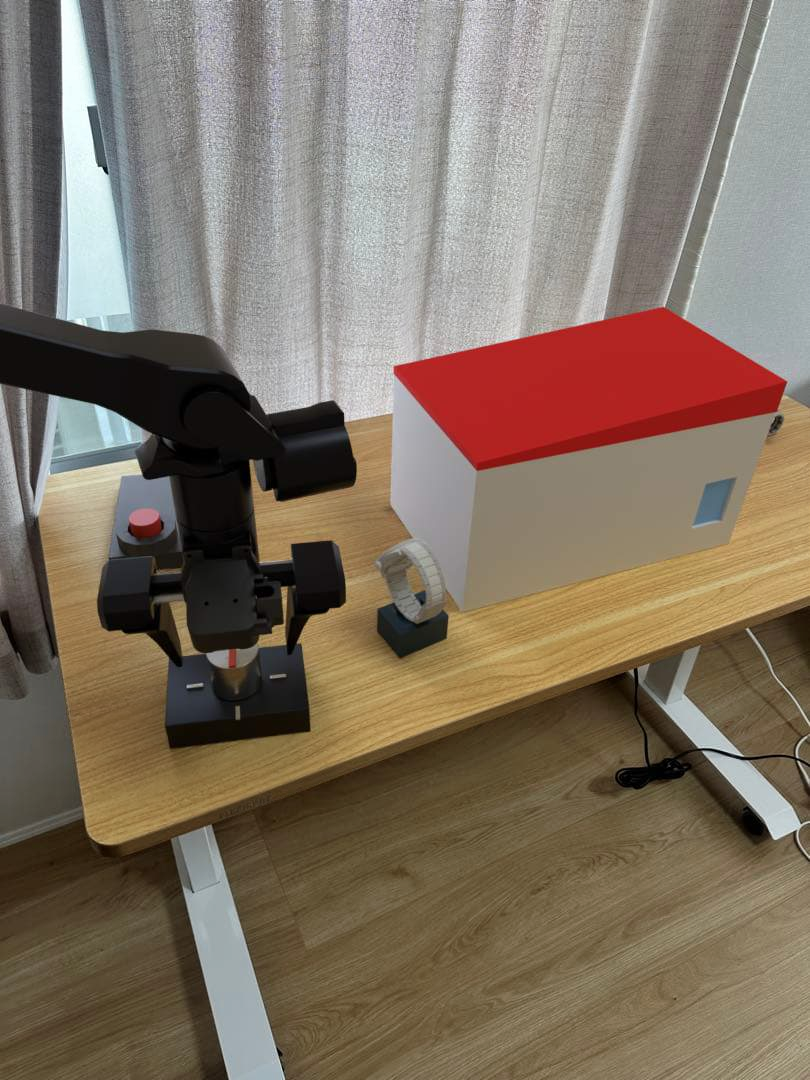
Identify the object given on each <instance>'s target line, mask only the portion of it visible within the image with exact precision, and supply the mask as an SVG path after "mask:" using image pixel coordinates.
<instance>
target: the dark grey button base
mask: <svg viewBox="0 0 810 1080" xmlns="http://www.w3.org/2000/svg"><path fill="white" fill-rule="evenodd" d="M140 509H154V510H156V511H157V512H158V513H159V515H160V520H161V526H162V530H161V532H160V533H159V534H157V535H154V536H152V537H147V538H138V537H134V536H133V535H132V533H131V529H130V525H129V520H128V519H129V516H130V515H131V514H132V513H133V512H135V511H137V510H140ZM108 550H109V551H108V557H107V558H108V560H115V559H126V558H137V557H148V556H153V557H154V558H155V561H156V566H157V570H168V569H169V570H170V569H178V568H182V566H183V562H184V561H183V555H182V549H181V544H180V538H179V532H178V527H177V521H176V515H175V509H174V503H173V497H172V491H171V486H170V480H169V476H168V477H163V478H158V479H153V480H146V479H144V478H143V475H142V474H131V475H121V477H120V483H119V488H118V495H117V501H116V508H115V514H114V519H113V527H112V532H111V539H110V545H109V549H108Z"/></svg>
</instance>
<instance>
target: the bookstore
mask: <svg viewBox="0 0 810 1080" xmlns="http://www.w3.org/2000/svg"><path fill="white" fill-rule="evenodd" d="M392 373H393V394H392V395H393V397H392V431H391V463H390V464H391V467H390V469H391V470H390V499H389V500H390V502H389V503H390V506H391V508H392V509H393V511H394V512H395V514H396V515H397V517H398V518H399V520H400V521H401V523H402V524H403V526H404V527H405V529H406V531H407V532H408V534H409V536H411V539H413V538H421V539H422V541H425V542H426V543H427V546H428V547H429V548H430V549H431V550H432V552H433V553H434V555H435V556H436V558H437V560H438V562H439V564H440V566H441V569H440V570H442V572H443V576H444V580H445V585H446V592H448V594H449V595H450V596H451V598H452V599H453V601H454V603H455V604H456V605H457V607H458V608H459V610H460V612H461V613H465V612H469V611H474V610H476V609H481V608H485V607H488V606H492V605H495V604H496V605H497V604H501V603H504V602H508V601H512V600H516V599H519V598H524V597H528V596H530V595H535V594H539V593H543V592H547V591H550V590H556V589H558V588H563V587H566V586H570V585H574V584H578V583H581V582H586V581H589V580H594V579H597V578H601V577H605V576H609V575H613V574H617V573H621V572H625V571H628V570H632V569H636V568H640V567H644V566H648V565H652V564H656V563H660V562H663V561H668V560H672V559H675V558H679V557H684V556H687V555H691V554H694V553H698V552H702V551H706V550H710V549H713V548H718V547H721V546H726V545H729V544H730V541H731V540H732V536H733V533H734V530H735V528H736V524H737V523H738V519H739V516H740V514H741V510H742V508H743V505H744V502H745V500H746V496H747V495H748V494H747V493H748V491H749V488H750V486H751V482H752V479H753V478H754V474H755V471H756V468H757V466H758V464H759V460H760V458H761V454H762V452H763V449H764V447H765V443H766V441H767V437H768V436H767V435H768V432H769V429H770V426H771V423H773V421H774V419H775V418H774V415H775V412H777V410H779V407H780V404H781V401H782V399H783V395H784V392H785V390H786V387H787V385H788V381H787V380H786V379H784V378H783V377H781V376H779V375H778V374H776V373H774V372H773V371H771V370H769V369H767V368H766V367H764V366H763V365H761V364H759V363H758V362H756V361H754V360H753V359H751V358H749V357H748V356H746V355H744V354H743V353H741V352H740V351H738V350H736V349H734V348H733V347H731V346H730V345H728V344H727V343H725V342H723V341H721V340H720V339H718V338H716V337H714V336H713V335H711V334H710V333H708V332H706V330H705V331H704V330H703V329H701V328H700V327H698V326H696V325H695V324H693V323H691V322H689V321H688V320H686V319H684V318H683V317H681V316H680V315H678V314H677V313H675V312H673V311H672V310H670V309H668V308H667V307H665V306H661V307H656V308H652V309H646V310H643V311H637V312H634V313H629V314H625V315H619V316H615V317H611V318H607V319H602V320H601V319H600V320H597V321H593V322H592V321H591V322H588V323H584V324H579V325H573V326H570V327H565V328H561V329H557V330H552V331H547V332H542V333H539V334H534V335H528V336H524V337H520V338H516V339H515V338H514V339H511V340H506V341H502V342H497V343H492V344H488V345H484V346H479V347H475V348H474V347H473V348H470V349H466V350H465V349H464V350H461V351H457V352H452V353H446V354H443V355H440V356H439V355H438V356H434V357H430V358H429V357H428V358H426V359H425V358H424V359H419V360H415V361H411V362H407V363H402V364H398V365H393V372H392Z"/></svg>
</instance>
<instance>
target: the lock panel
mask: <svg viewBox="0 0 810 1080" xmlns="http://www.w3.org/2000/svg"><path fill="white" fill-rule="evenodd" d="M259 654H260V663H261V673H262V684H261V686H260V688H259V689H258V691H257V692H256V693H254V694H253V695H252V696H250V697H248V698H245V699H242V700H237V701H230V700H225V699H222V698H220V697H218V696H217V695H216V694H215V693H214V691H213V690H212V686H211V681H210V674H209V668H208V662H207V656H206V653H198V654H197V653H196V654H187V655H182V658H183V663H182V667H177V666H176V665H175V664H174V663H173V662H172V661H171V659H170V658H169V657H168V665H167V682H166V699H165V717H164V719H165V720H164V729H165V733H166V738H167V742H168V747H169V749H170V750H173V749H179V748H188V747H195V746H202V745H212V744H217V743H219V744H220V743H226V742H235V741H243V740H251V739H258V738H259V739H260V738H264V737H265V738H266V737H274V736H282V735H289V734H297V733H305V732H311V730H312V729H311V727H312V726H311V712H310V701H309V693H308V686H307V678H306V670H305V662H304V661H305V660H304V652H303V644H302V643H300V642H299V643H298V642H297V644H296V646H295V649H294V651H293V653H292V655H287V647H286V644H282V645H271V646H262V647H259Z"/></svg>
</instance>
